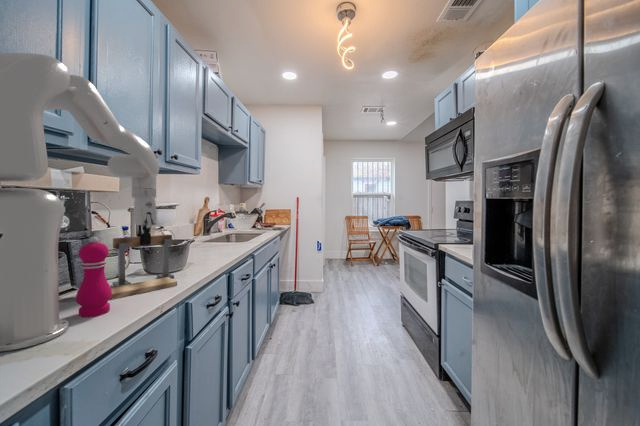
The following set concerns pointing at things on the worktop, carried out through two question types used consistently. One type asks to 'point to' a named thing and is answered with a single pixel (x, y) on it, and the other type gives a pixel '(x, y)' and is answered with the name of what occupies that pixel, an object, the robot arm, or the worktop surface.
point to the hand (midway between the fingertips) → (144, 243)
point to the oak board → (142, 287)
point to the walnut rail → (136, 240)
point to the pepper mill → (93, 280)
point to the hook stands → (121, 262)
